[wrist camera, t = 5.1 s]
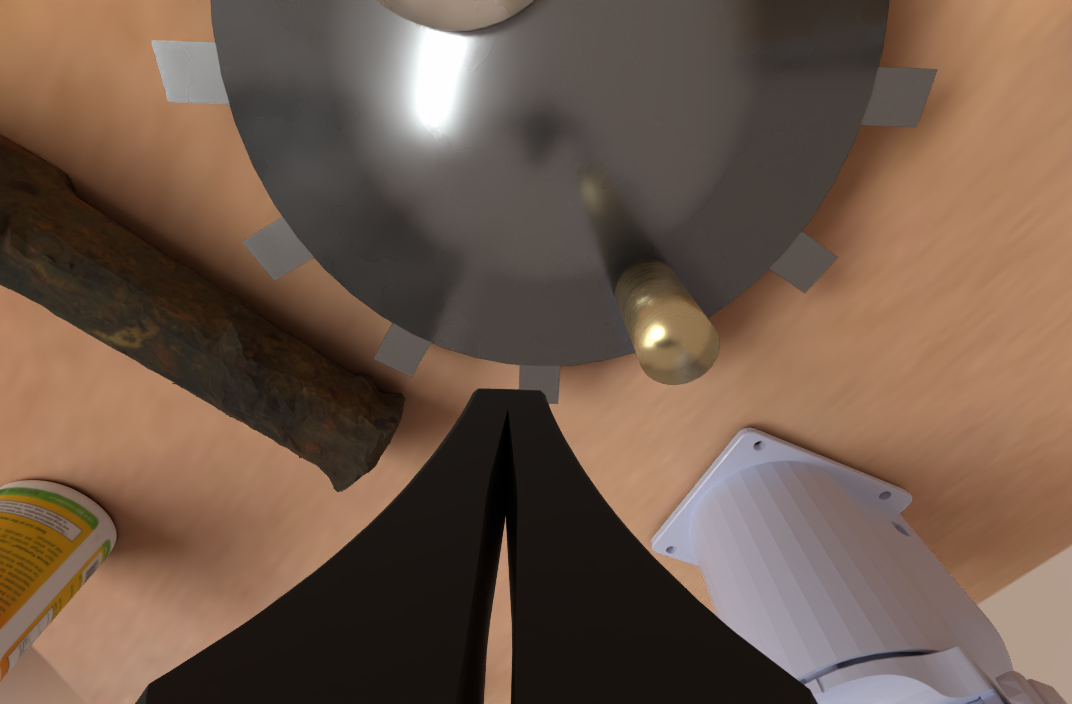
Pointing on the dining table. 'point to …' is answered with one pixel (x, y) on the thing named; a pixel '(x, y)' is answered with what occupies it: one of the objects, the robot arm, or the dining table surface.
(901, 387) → the dining table surface
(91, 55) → the dining table surface
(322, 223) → the sprocket
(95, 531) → the supplement bottle
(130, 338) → the dark brown rough bar
